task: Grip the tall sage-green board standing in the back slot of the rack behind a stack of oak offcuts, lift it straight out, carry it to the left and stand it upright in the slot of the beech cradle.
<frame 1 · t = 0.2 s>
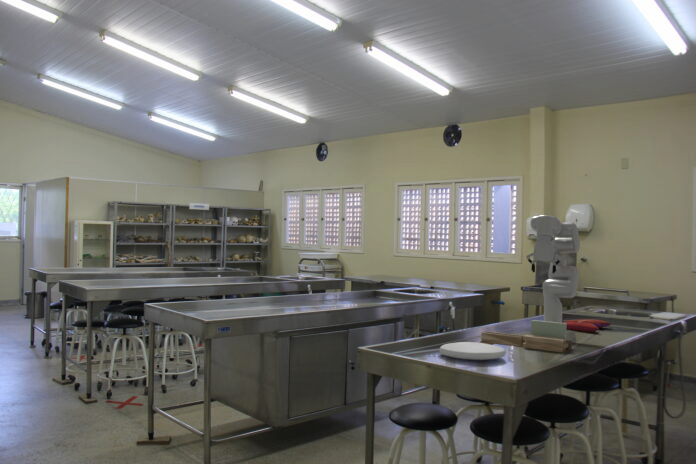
hand: (543, 272, 271), 36 cm above the table, tool pointing down, fingers open, 9 cm apart
plate: (471, 358, 234), on the table
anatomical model: (578, 329, 326), on the table
tall sheet: (548, 346, 256), point 1 cm above the table, touching rack
cradle: (502, 344, 265), on the table
rack: (546, 350, 254), on the table
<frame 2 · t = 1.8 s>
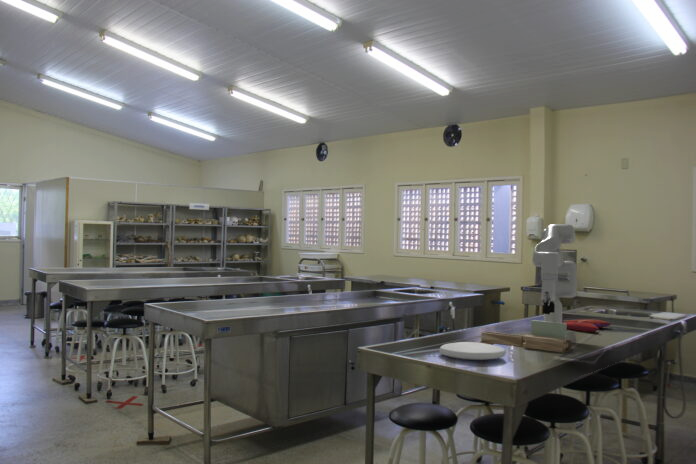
hand: (548, 313, 256), 17 cm above the table, tool pointing down, fingers open, 9 cm apart
nothing on the table moved.
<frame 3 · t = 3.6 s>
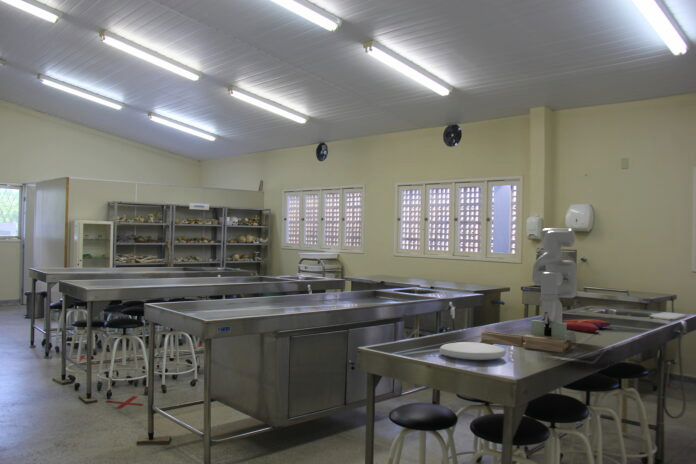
hand: (548, 335, 257), 7 cm above the table, tool pointing down, fingers closed on tall sheet, 2 cm apart
tall sheet: (548, 346, 256), point 1 cm above the table, touching gripper
everything else where it was.
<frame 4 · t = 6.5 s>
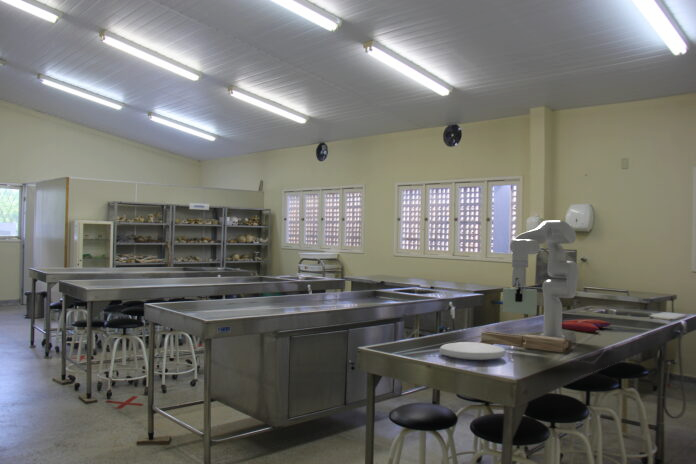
hand: (519, 301, 263), 22 cm above the table, tool pointing down, fingers closed on tall sheet
tall sheet: (519, 313, 262), point 16 cm above the table, touching gripper
everything else where it was.
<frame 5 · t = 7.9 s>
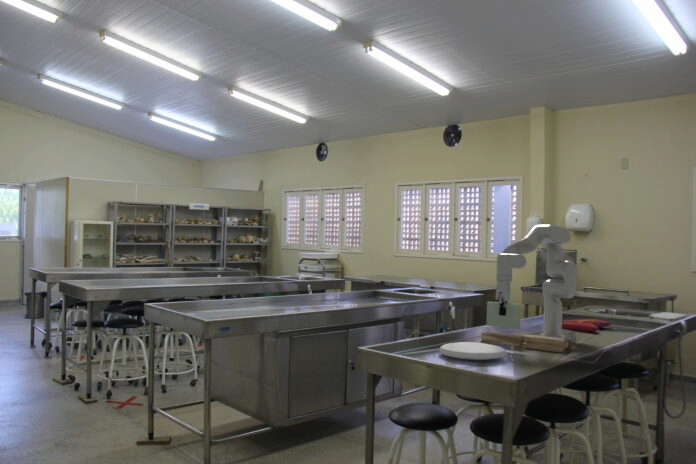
hand: (503, 314, 265), 15 cm above the table, tool pointing down, fingers closed on tall sheet
tall sheet: (502, 327, 265), point 9 cm above the table, touching gripper
everything else where it was.
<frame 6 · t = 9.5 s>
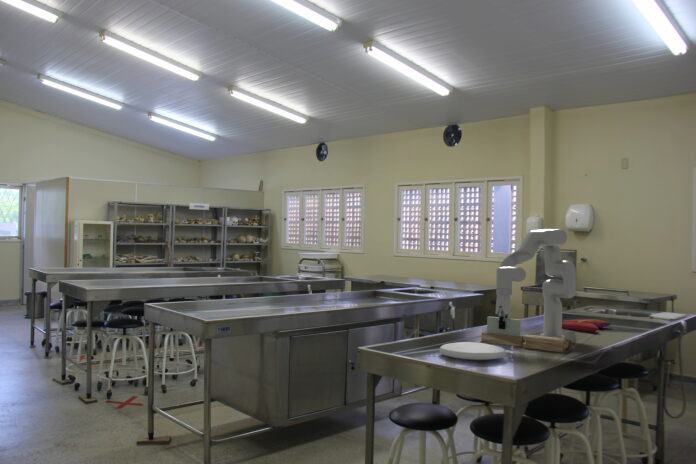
hand: (503, 328, 265), 8 cm above the table, tool pointing down, fingers open, 3 cm apart
tall sheet: (503, 342, 265), point 1 cm above the table, touching cradle
everything else where it was.
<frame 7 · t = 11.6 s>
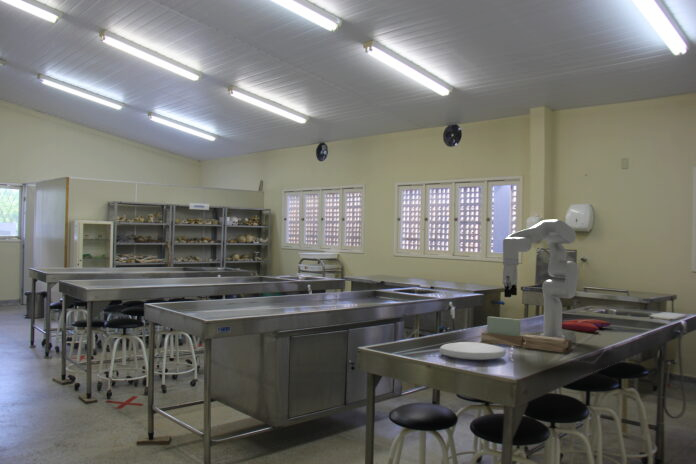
hand: (510, 296, 267), 24 cm above the table, tool pointing down, fingers open, 9 cm apart
nothing on the table moved.
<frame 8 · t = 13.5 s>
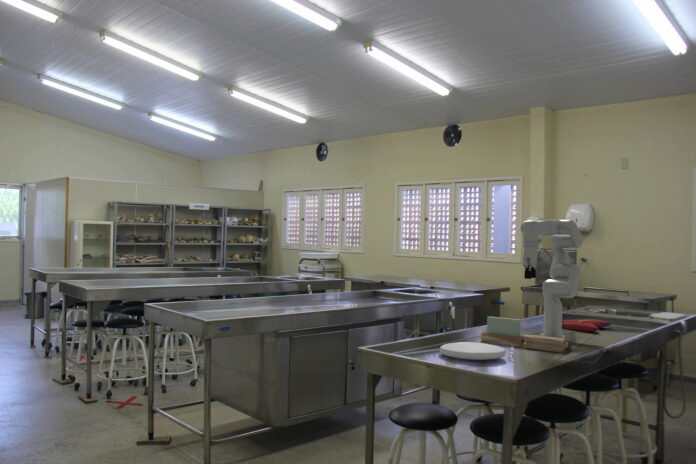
hand: (530, 278, 270), 33 cm above the table, tool pointing down, fingers open, 9 cm apart
nothing on the table moved.
at the end: tall sheet inside the target area on the cradle (0.1 cm from its centre), point 1.2 cm above the cradle's base; tall sheet tilted 0°; the gripper is holding nothing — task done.
